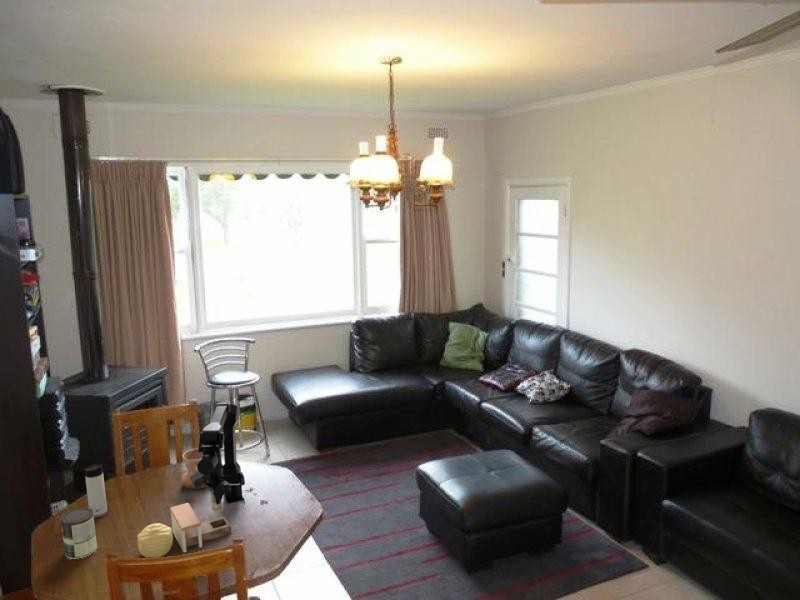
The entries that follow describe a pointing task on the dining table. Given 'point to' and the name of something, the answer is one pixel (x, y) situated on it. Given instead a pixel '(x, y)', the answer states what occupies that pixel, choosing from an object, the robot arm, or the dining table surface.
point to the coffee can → (78, 533)
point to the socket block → (208, 531)
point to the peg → (214, 505)
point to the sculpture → (155, 540)
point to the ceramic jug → (191, 467)
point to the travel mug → (96, 490)
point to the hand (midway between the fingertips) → (216, 502)
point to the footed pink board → (184, 523)
